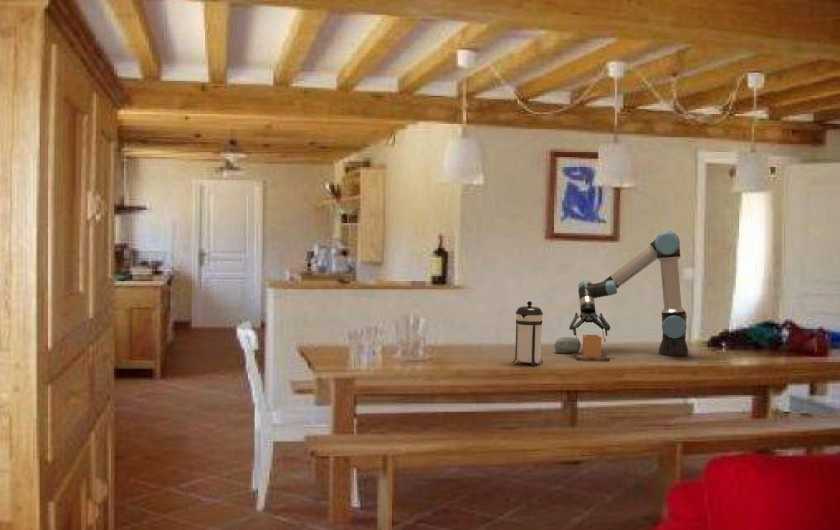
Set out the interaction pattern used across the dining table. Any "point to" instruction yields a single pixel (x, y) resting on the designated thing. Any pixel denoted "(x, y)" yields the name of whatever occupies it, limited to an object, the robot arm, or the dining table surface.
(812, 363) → the dining table surface
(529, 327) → the coffee press
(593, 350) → the spacer sleeve
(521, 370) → the dining table surface
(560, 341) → the grey green rounded lump
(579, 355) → the shaft stand
